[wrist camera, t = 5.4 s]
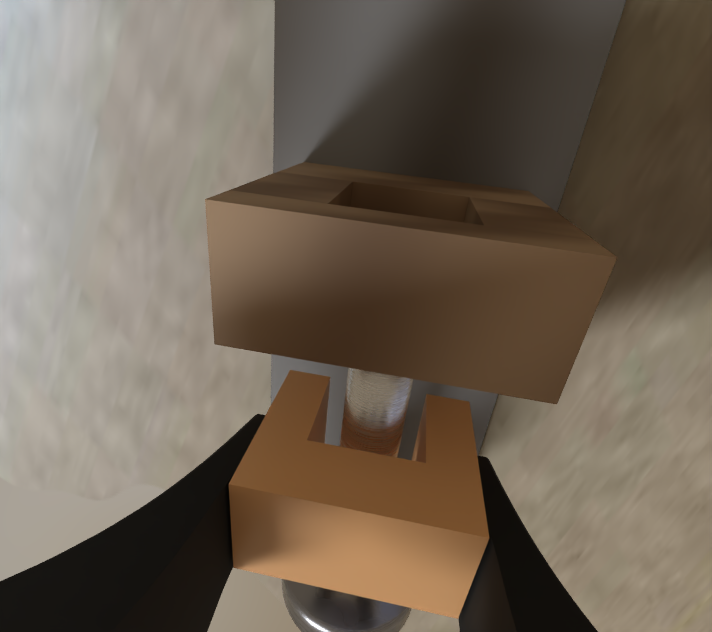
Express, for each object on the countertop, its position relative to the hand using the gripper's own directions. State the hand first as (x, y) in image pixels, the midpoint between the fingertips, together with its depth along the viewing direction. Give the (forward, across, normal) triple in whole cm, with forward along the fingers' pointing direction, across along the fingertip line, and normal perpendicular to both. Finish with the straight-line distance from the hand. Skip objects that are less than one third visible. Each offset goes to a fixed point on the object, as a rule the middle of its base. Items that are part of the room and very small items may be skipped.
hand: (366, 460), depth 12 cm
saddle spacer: (+2, 0, 0) cm, 2 cm away
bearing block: (+5, 0, -4) cm, 7 cm away
